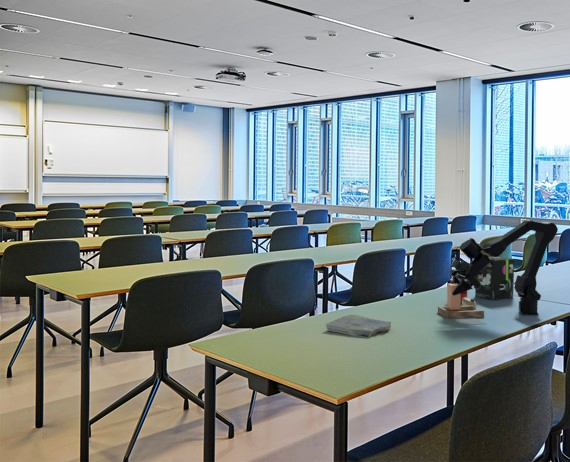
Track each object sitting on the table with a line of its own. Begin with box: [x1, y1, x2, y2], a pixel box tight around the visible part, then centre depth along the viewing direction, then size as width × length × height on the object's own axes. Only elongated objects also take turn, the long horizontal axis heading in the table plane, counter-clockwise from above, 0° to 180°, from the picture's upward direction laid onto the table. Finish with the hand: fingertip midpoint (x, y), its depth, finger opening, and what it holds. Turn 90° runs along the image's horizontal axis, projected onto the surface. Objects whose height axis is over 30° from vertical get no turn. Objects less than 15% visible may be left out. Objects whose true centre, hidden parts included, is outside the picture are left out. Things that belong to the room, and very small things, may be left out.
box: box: [474, 256, 515, 301], centre depth 286 cm, size 14×12×19 cm
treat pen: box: [437, 305, 485, 319], centre depth 253 cm, size 17×22×3 cm
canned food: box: [449, 277, 468, 305], centre depth 273 cm, size 8×8×11 cm
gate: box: [461, 297, 477, 311], centre depth 260 cm, size 2×9×4 cm, turn 8°
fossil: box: [325, 314, 392, 339], centre depth 226 cm, size 20×5×17 cm
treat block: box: [446, 283, 461, 310], centre depth 246 cm, size 4×4×10 cm
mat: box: [451, 317, 487, 326], centre depth 236 cm, size 10×10×1 cm
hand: (450, 293), depth 246 cm, fingers closed on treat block, 4 cm apart
